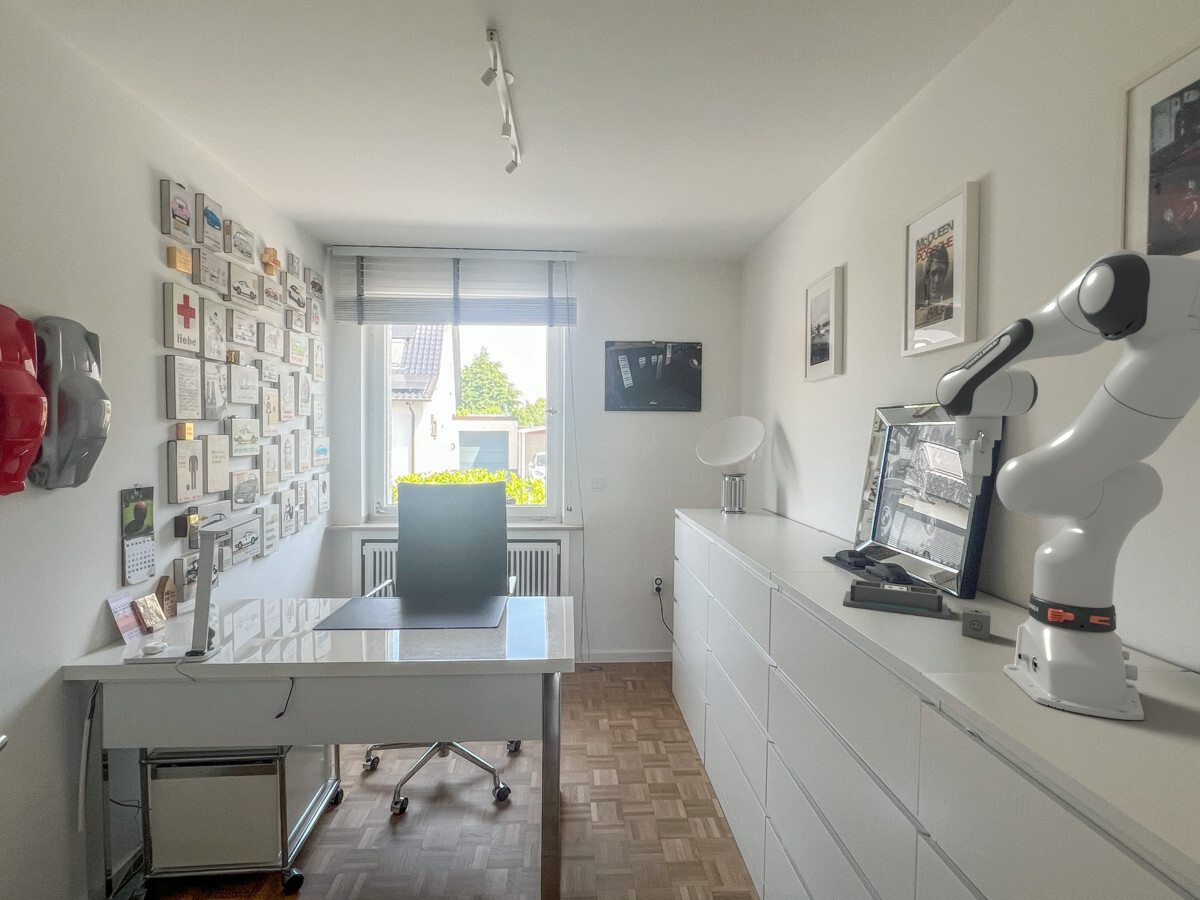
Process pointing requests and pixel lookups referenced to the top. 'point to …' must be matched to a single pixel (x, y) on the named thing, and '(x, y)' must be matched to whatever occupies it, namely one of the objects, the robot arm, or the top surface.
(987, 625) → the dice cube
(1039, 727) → the top surface
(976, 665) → the top surface
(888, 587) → the grey key
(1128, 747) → the top surface
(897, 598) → the grey slotted tray
